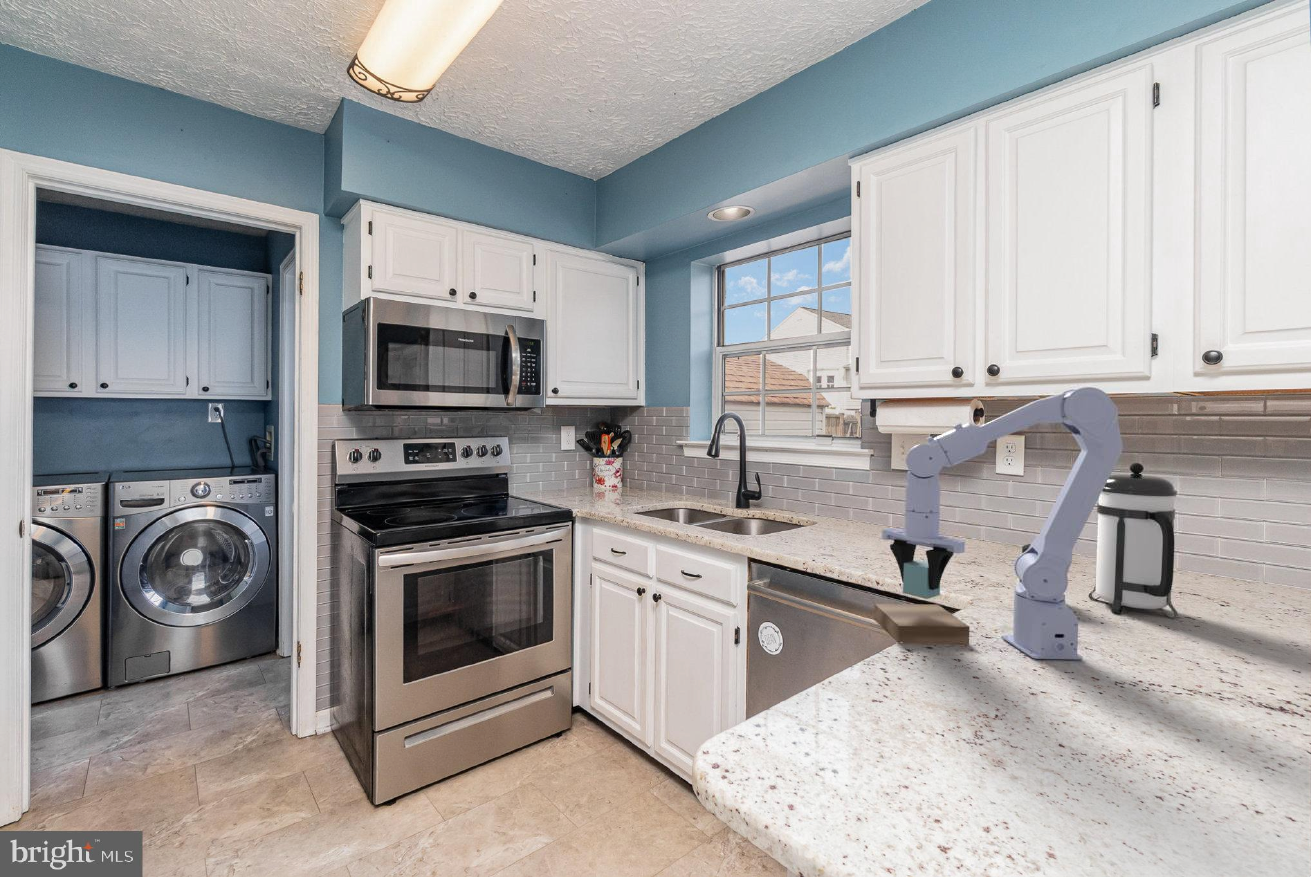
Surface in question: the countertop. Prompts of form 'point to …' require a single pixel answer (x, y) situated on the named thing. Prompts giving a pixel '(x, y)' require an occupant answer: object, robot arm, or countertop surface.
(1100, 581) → the coffee press
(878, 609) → the walnut box
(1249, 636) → the countertop surface
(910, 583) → the teal block
